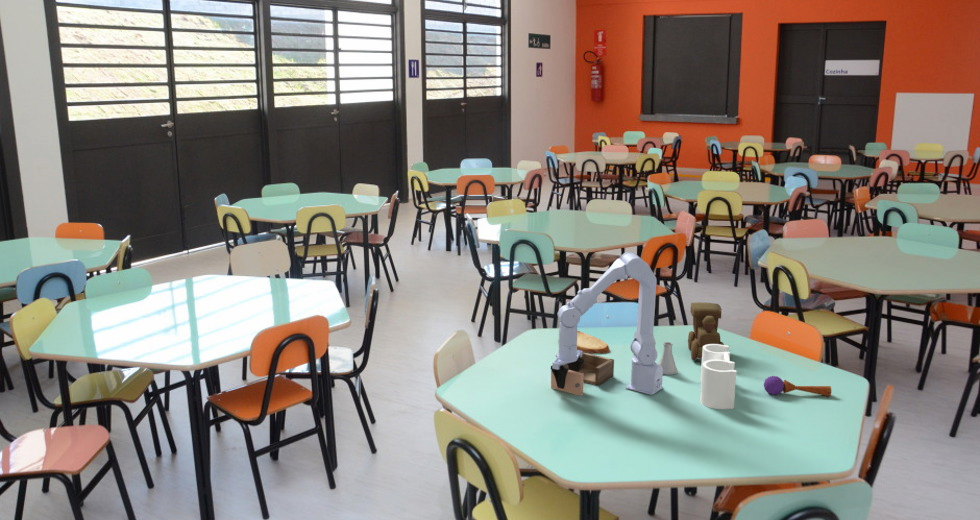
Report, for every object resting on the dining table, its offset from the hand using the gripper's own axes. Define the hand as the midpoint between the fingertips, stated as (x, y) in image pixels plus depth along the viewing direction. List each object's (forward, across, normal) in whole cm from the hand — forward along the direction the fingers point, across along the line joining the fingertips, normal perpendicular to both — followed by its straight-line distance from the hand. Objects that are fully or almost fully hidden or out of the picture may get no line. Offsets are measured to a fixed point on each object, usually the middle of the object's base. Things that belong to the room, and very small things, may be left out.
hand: (567, 384), depth 259 cm
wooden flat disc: (+3, -41, -18) cm, 45 cm away
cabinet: (+2, -13, -1) cm, 13 cm away
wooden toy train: (+2, -58, +22) cm, 62 cm away
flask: (+2, -34, +18) cm, 39 cm away
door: (+2, 0, 0) cm, 2 cm away
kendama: (+3, -41, +59) cm, 72 cm away
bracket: (+2, -26, +38) cm, 47 cm away
